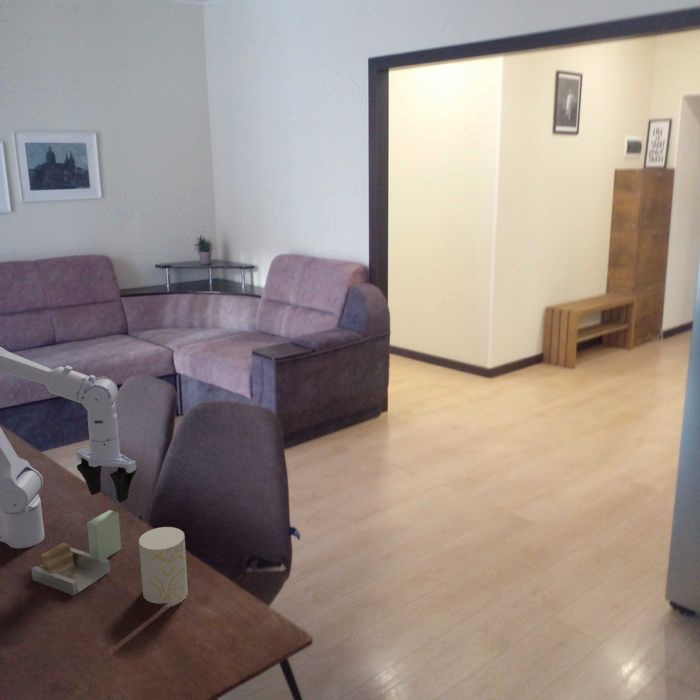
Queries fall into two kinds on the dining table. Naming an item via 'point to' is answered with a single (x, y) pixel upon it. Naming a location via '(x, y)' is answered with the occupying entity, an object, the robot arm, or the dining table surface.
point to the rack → (74, 573)
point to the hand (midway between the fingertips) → (109, 496)
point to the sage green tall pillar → (104, 534)
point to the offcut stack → (57, 559)
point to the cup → (163, 566)
